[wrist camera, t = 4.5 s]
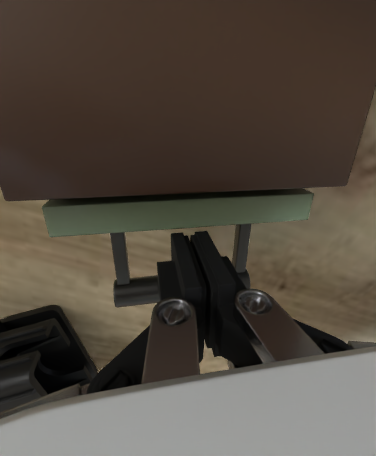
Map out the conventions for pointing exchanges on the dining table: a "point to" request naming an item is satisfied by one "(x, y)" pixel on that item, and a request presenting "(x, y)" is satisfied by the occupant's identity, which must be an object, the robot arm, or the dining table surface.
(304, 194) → the drawer
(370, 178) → the dining table surface
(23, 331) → the end cap
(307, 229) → the dining table surface
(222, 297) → the robot arm
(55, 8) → the cabinet
